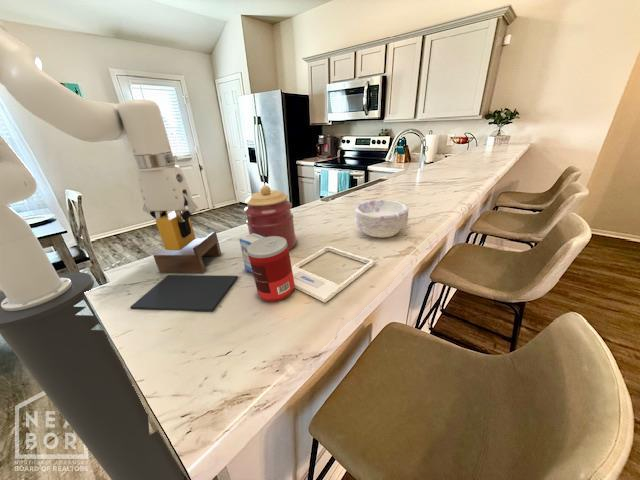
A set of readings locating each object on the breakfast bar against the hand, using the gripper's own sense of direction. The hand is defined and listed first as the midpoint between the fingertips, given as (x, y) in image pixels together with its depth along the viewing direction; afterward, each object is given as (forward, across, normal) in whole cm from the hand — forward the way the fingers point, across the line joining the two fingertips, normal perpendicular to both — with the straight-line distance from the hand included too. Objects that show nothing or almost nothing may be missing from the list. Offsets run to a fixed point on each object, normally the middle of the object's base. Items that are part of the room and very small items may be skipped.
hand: (178, 234), depth 67 cm
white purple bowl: (+8, -52, -19) cm, 56 cm away
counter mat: (+8, -8, +13) cm, 17 cm away
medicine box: (+8, -22, +4) cm, 24 cm away
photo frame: (+8, -38, +4) cm, 39 cm away
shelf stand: (+8, -1, 0) cm, 8 cm away
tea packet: (+3, 0, 0) cm, 3 cm away
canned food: (+8, -28, +12) cm, 32 cm away
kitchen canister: (+8, -21, -10) cm, 25 cm away
